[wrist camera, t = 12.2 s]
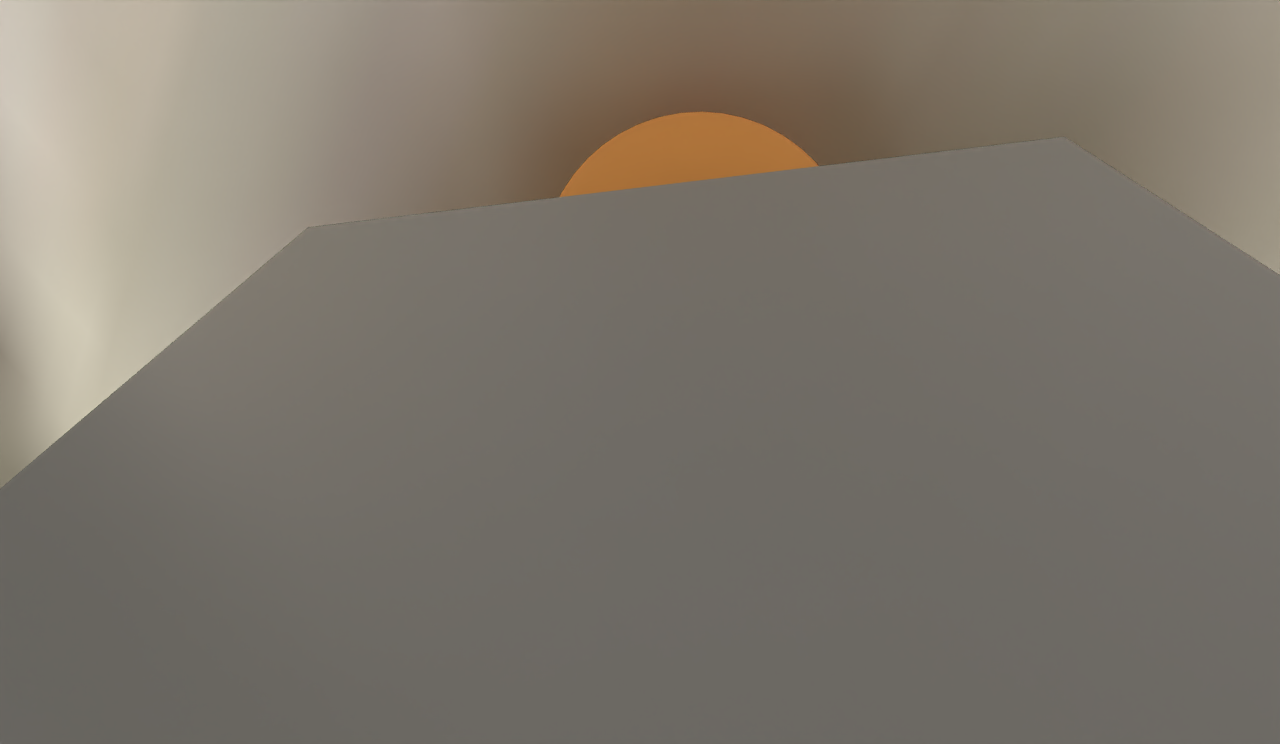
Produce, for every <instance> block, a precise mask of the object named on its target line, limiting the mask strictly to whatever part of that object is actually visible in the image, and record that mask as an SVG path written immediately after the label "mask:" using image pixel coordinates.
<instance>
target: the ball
mask: <svg viewBox="0 0 1280 744" xmlns="http://www.w3.org/2000/svg"><path fill="white" fill-rule="evenodd" d="M816 166H818V165H817V163H816V162H815V161H814V160H813V159H812V158H811V157H809V156H808V155H807V154H806V153H805V152H804V151H803V150H802V149H801V148H800V147H799V146H797V145H796V144H794V143H793V142H792V141H790V140H789V139H787V138H786V137H785V136H783V135H781V134H780V133H778V132H776V131H774V130H772V129H770V128H768V127H766V126H764V125H762V124H759V123H757V122H754V121H751V120H748V119H746V118H742V117H738V116H733V115H728V114H724V113H713V112H687V113H677V114H672V115H667V116H662V117H658V118H655V119H652V120H649V121H646V122H643V123H640V124H638V125H636V126H634V127H632V128H630V129H628V130H626V131H624V132H622V133H620V134H618V135H617V136H615V137H614V138H612V139H611V140H609V141H608V142H606V143H605V144H603V145H602V146H601V147H600V148H599V149H598V150H597V151H595V152H594V153H593V154H592V155H591V156H590V157H589V158H588V159H587V160H586V161H585V162H584V163H583V164H582V165H581V166H580V168H579V169H578V170H577V171H576V172H575V173H574V175H573V176H572V178H571V179H570V181H569V182H568V184H567V185H566V187H565V188H564V190H563V191H562V193H561V195H560V197H565V196H574V195H582V194H590V193H599V192H607V191H615V190H624V189H632V188H641V187H649V186H657V185H666V184H674V183H682V182H691V181H699V180H707V179H716V178H724V177H732V176H741V175H749V174H757V173H766V172H774V171H783V170H791V169H799V168H808V167H816Z"/></svg>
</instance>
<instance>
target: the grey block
mask: <svg viewBox="0 0 1280 744" xmlns="http://www.w3.org/2000/svg"><path fill="white" fill-rule="evenodd" d="M0 744H1280V275H1279V274H1277V273H1276V272H1274V271H1273V270H1271V269H1269V268H1268V267H1266V266H1265V265H1263V264H1262V263H1260V262H1259V261H1257V260H1255V259H1254V258H1252V257H1251V256H1249V255H1248V254H1246V253H1245V252H1243V251H1241V250H1240V249H1238V248H1237V247H1235V246H1234V245H1232V244H1231V243H1229V242H1227V241H1226V240H1224V239H1223V238H1221V237H1220V236H1218V235H1217V234H1215V233H1214V232H1212V231H1210V230H1209V229H1207V228H1206V227H1204V226H1203V225H1201V224H1200V223H1198V222H1196V221H1195V220H1193V219H1192V218H1190V217H1189V216H1187V215H1186V214H1184V213H1182V212H1181V211H1179V210H1178V209H1176V208H1175V207H1173V206H1172V205H1170V204H1168V203H1167V202H1165V201H1164V200H1162V199H1161V198H1159V197H1158V196H1156V195H1154V194H1153V193H1151V192H1150V191H1148V190H1147V189H1145V188H1144V187H1142V186H1140V185H1139V184H1137V183H1136V182H1134V181H1133V180H1131V179H1130V178H1128V177H1126V176H1125V175H1123V174H1122V173H1120V172H1119V171H1117V170H1116V169H1114V168H1112V167H1111V166H1109V165H1108V164H1106V163H1105V162H1103V161H1102V160H1100V159H1098V158H1097V157H1095V156H1094V155H1092V154H1091V153H1089V152H1088V151H1086V150H1084V149H1083V148H1081V147H1080V146H1078V145H1077V144H1075V143H1074V142H1072V141H1070V140H1069V139H1067V138H1066V137H1058V138H1050V139H1042V140H1033V141H1025V142H1016V143H1008V144H1000V145H991V146H983V147H975V148H966V149H958V150H950V151H941V152H933V153H925V154H916V155H908V156H899V157H891V158H883V159H874V160H866V161H858V162H849V163H841V164H833V165H824V166H816V167H808V168H799V169H791V170H783V171H774V172H766V173H757V174H749V175H741V176H732V177H724V178H716V179H707V180H699V181H691V182H682V183H674V184H666V185H657V186H649V187H641V188H632V189H624V190H615V191H607V192H599V193H590V194H582V195H574V196H565V197H557V198H549V199H540V200H532V201H524V202H515V203H507V204H499V205H490V206H482V207H473V208H465V209H457V210H448V211H440V212H432V213H423V214H415V215H407V216H398V217H390V218H382V219H373V220H365V221H357V222H348V223H340V224H331V225H323V226H315V227H308V228H307V229H306V230H304V231H303V232H302V233H301V234H300V235H299V236H297V237H296V238H295V239H294V240H293V241H291V242H290V243H289V244H288V245H287V246H286V247H284V248H283V249H282V250H281V251H280V252H279V253H277V254H276V255H275V256H274V257H273V258H271V259H270V260H269V261H268V262H267V263H266V264H264V265H263V266H262V267H261V268H260V269H259V270H257V271H256V272H255V273H254V274H253V275H251V276H250V277H249V278H248V279H247V280H246V281H244V282H243V283H242V284H241V285H240V286H238V287H237V288H236V289H235V290H234V291H233V292H231V293H230V294H229V295H228V296H227V297H226V298H224V299H223V300H222V301H221V302H220V303H218V304H217V305H216V306H215V307H214V308H213V309H211V310H210V311H209V312H208V313H207V314H205V315H204V316H203V317H202V318H201V319H200V320H198V321H197V322H196V323H195V324H194V325H193V326H191V327H190V328H189V329H188V330H187V331H185V332H184V333H183V334H182V335H181V336H180V337H178V338H177V339H176V340H175V341H174V342H172V343H171V344H170V345H169V346H168V347H167V348H165V349H164V350H163V351H162V352H161V353H160V354H158V355H157V356H156V357H155V358H154V359H152V360H151V361H150V362H149V363H148V364H147V365H145V366H144V367H143V368H142V369H141V370H140V371H138V372H137V373H136V374H135V375H134V376H132V377H131V378H130V379H129V380H128V381H127V382H125V383H124V384H123V385H122V386H121V387H119V388H118V389H117V390H116V391H115V392H114V393H112V394H111V395H110V396H109V397H108V398H107V399H105V400H104V401H103V402H102V403H101V404H99V405H98V406H97V407H96V408H95V409H94V410H92V411H91V412H90V413H89V414H88V415H86V416H85V417H84V418H83V419H82V420H81V421H79V422H78V423H77V424H76V425H75V426H74V427H72V428H71V429H70V430H69V431H68V432H66V433H65V434H64V435H63V436H62V437H61V438H59V439H58V440H57V441H56V442H55V443H54V444H52V445H51V446H50V447H49V448H48V449H46V450H45V451H44V452H43V453H42V454H41V455H39V456H38V457H37V458H36V459H35V460H33V461H32V462H31V463H30V464H29V465H28V466H26V467H25V468H24V469H23V470H22V471H21V472H19V473H18V474H17V475H16V476H15V477H13V478H12V479H11V480H10V481H9V482H8V483H6V484H5V485H4V486H3V487H2V488H0Z"/></svg>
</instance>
